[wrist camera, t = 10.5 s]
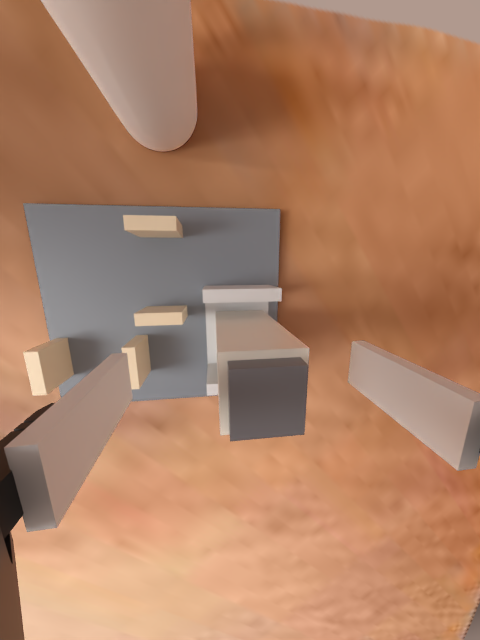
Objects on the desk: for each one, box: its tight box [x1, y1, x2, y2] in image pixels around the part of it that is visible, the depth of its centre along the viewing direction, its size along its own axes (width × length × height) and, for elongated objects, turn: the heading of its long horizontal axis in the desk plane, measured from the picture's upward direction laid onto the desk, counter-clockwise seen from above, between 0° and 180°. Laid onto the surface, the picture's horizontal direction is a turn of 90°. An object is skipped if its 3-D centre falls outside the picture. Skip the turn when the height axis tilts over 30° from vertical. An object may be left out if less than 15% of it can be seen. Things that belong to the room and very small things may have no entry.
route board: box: [23, 203, 282, 401], centre depth 19 cm, size 21×18×5 cm
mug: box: [41, 0, 197, 152], centre depth 12 cm, size 10×7×12 cm, turn 158°
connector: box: [215, 310, 309, 441], centre depth 16 cm, size 4×4×12 cm
